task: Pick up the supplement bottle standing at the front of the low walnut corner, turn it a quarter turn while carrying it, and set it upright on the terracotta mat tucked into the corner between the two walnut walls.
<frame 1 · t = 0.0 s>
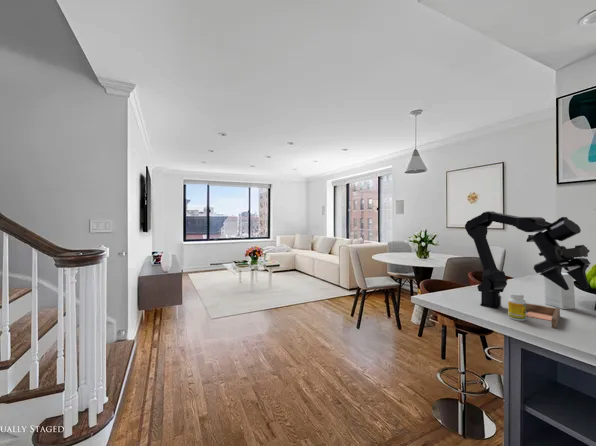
hand: (577, 289, 92), 15 cm above the worktop, tool tilted 35°, fingers open, 9 cm apart
walnut corner walls: (533, 316, 108), on the worktop
skincare box: (559, 306, 121), on the worktop
supplement bottle: (516, 319, 106), on the worktop
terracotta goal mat: (540, 316, 109), on the worktop
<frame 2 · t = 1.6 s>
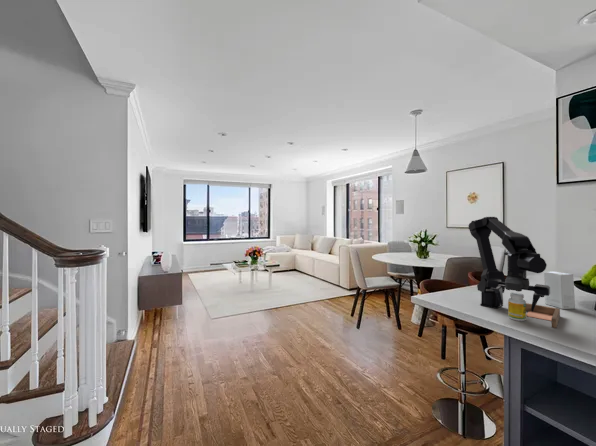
hand: (516, 308, 106), 4 cm above the worktop, tool pointing down, fingers open, 9 cm apart
nothing on the worktop moved.
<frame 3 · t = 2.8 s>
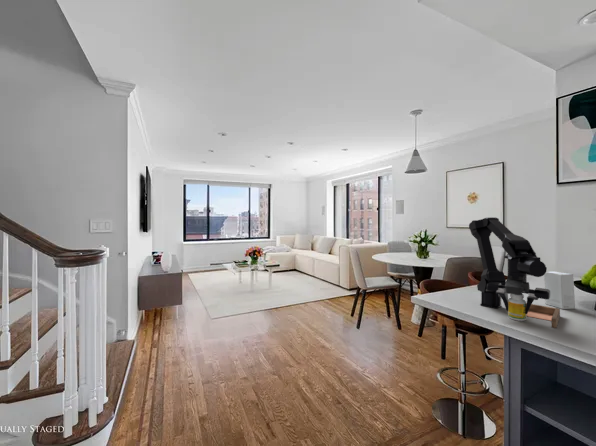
hand: (516, 312, 106), 3 cm above the worktop, tool pointing down, fingers closed on supplement bottle, 5 cm apart
supplement bottle: (516, 319, 106), on the worktop, touching gripper
everything else where it was.
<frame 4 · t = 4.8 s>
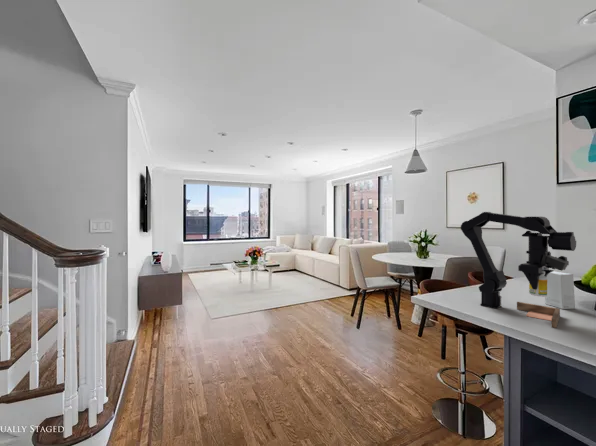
hand: (537, 288, 108), 11 cm above the worktop, tool pointing down, fingers closed on supplement bottle, 5 cm apart
supplement bottle: (538, 295, 108), point 8 cm above the worktop, touching gripper
everything else where it was.
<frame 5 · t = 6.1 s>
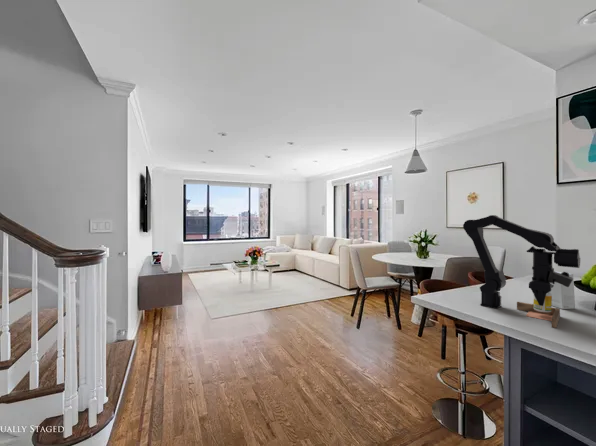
hand: (542, 304, 109), 5 cm above the worktop, tool pointing down, fingers closed on supplement bottle, 5 cm apart
supplement bottle: (542, 311, 109), point 2 cm above the worktop, touching gripper
everything else where it was.
when the fingers open (4 cm above the worktop, at t = 7.1 s): supplement bottle drops 1 cm, resting on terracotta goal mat.
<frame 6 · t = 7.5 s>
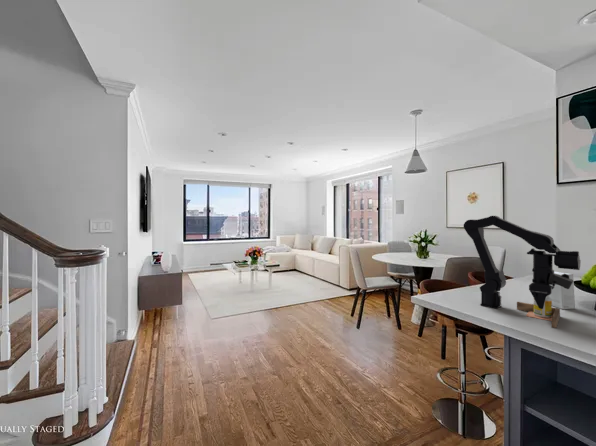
hand: (542, 306, 109), 4 cm above the worktop, tool pointing down, fingers open, 9 cm apart
supplement bottle: (542, 316, 109), resting on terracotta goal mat
everything else where it was.
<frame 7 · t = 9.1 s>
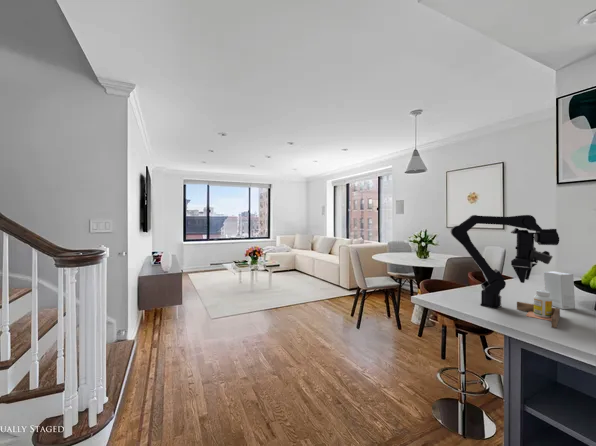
hand: (524, 281, 117), 12 cm above the worktop, tool pointing down, fingers open, 9 cm apart
nothing on the worktop moved.
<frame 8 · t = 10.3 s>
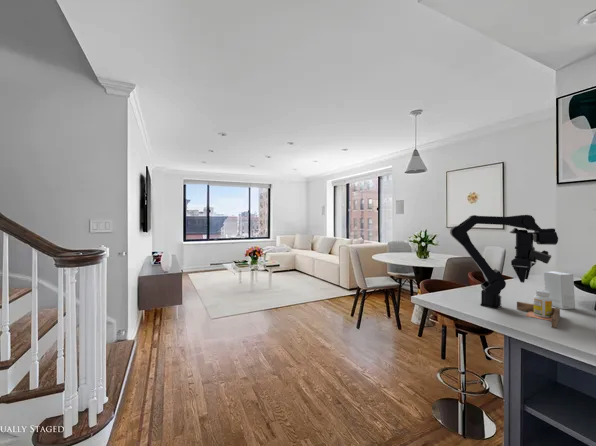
hand: (524, 280, 118), 12 cm above the worktop, tool pointing down, fingers open, 9 cm apart
nothing on the worktop moved.
at the end: supplement bottle 0.0 cm from the target spot, resting on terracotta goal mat; supplement bottle tilted 0°; the gripper is holding nothing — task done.
